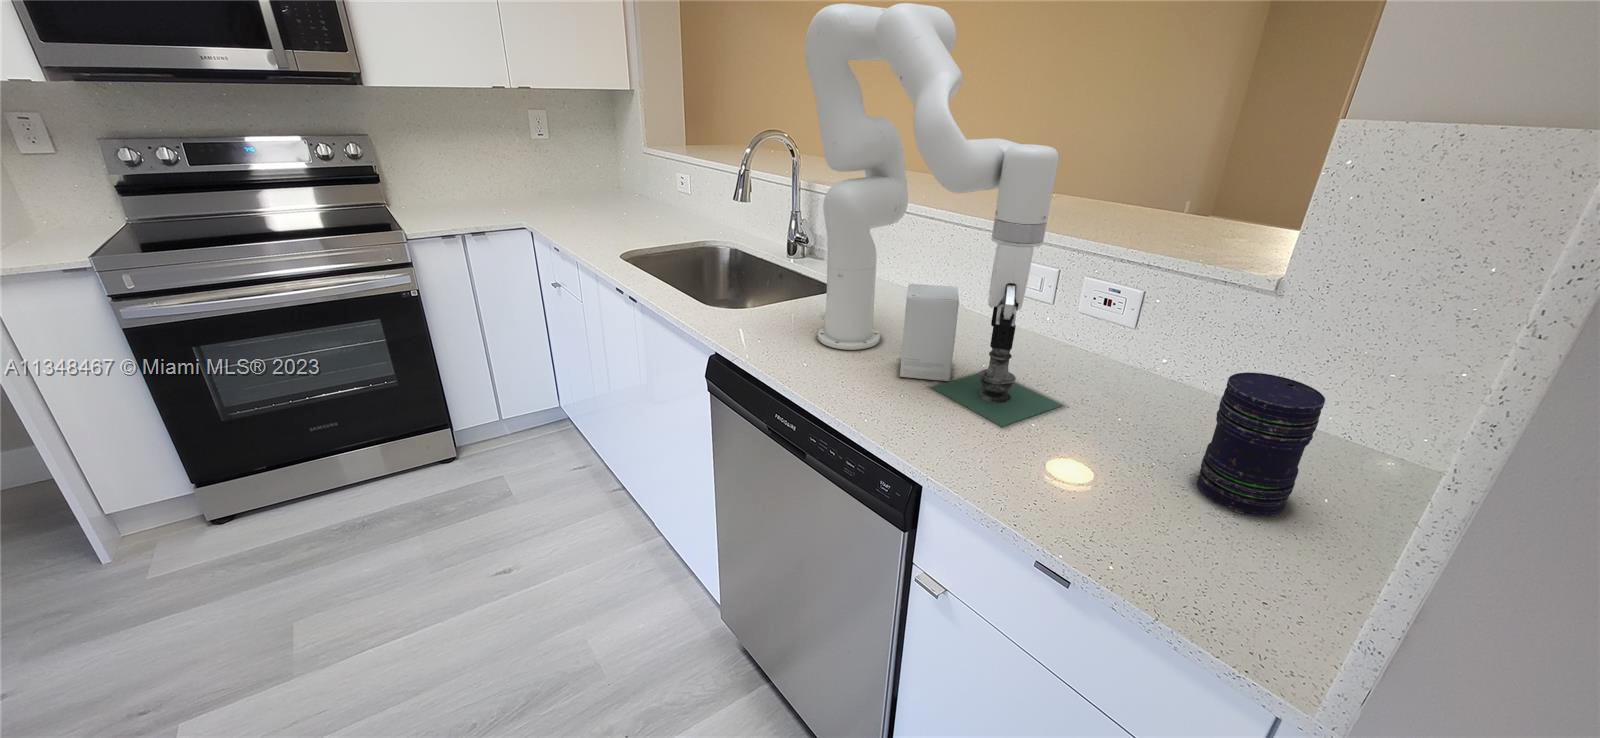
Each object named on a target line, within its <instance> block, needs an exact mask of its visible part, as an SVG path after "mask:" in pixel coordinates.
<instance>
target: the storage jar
mask: <svg viewBox="0 0 1600 738" xmlns="http://www.w3.org/2000/svg"><path fill="white" fill-rule="evenodd" d="M1325 403H1326V397H1325V396H1324V395H1323V393H1321V392H1320V391H1319V390H1318V389H1315V388H1314V387H1312V386H1310V385H1308V384H1305V383H1302V382H1300V381H1297V380H1295V379H1291V378H1288V377H1283V376H1280V375H1276V374H1270V373H1263V372H1262V373H1261V372H1239V373H1234V374H1231V375H1230V376H1229V377H1228V379H1227V382H1226V387H1225V388H1224V391H1223V395H1222V396H1221V398H1220V402H1219V404H1218V410H1217V411H1216V417H1215V420H1216V425H1215V429H1214V431H1213V435H1212V438H1211V441H1210V442H1209V443H1208V444H1207V447H1206V449H1205V453H1204V455H1203V457H1202V459H1201V463H1200V469H1199V475H1198V476H1197V479H1196V488H1197V489H1198V491H1199V492H1200V493H1201V494H1202V495H1203V496H1204V497H1205V498H1207V499H1208V500H1210V501H1211V502H1212V503H1214V504H1216V505H1218V506H1220V507H1222V508H1223V509H1226V510H1228V511H1232V512H1235V513H1238V514H1240V515H1241V514H1242V515H1245V516H1251V517H1258V518H1259V517H1260V518H1265V517H1266V518H1270V517H1275V516H1278V515H1280V514H1282V513H1283V512H1284V511H1285V508H1286V505H1287V502H1288V500H1289V498H1290V495H1291V494H1292V493H1293V491H1294V488H1295V485H1296V480H1297V478H1298V475H1299V465H1300V462H1301V459H1302V457H1303V454H1304V451H1305V448H1306V447H1307V446H1308V445H1309V444H1310V443H1311V441H1312V440H1313V438H1314V433H1315V432H1316V430H1317V427H1318V425H1319V422H1320V416H1321V414H1322V410H1323V408H1324V406H1325Z"/></svg>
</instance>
